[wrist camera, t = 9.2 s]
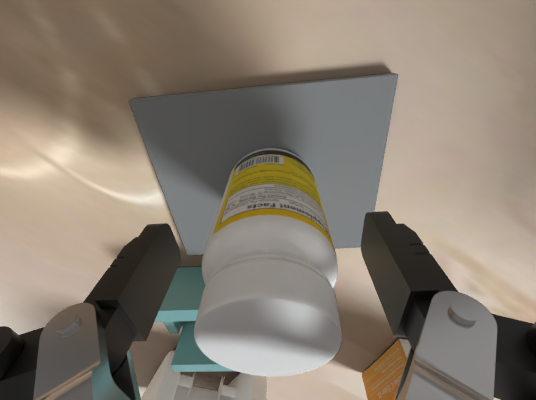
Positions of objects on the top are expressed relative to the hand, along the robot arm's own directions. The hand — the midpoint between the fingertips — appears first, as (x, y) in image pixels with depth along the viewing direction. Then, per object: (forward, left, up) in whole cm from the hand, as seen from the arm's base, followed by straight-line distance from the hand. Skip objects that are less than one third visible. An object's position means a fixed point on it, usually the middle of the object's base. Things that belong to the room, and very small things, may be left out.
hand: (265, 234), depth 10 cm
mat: (0, 0, -5) cm, 5 cm away
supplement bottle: (0, 0, -4) cm, 4 cm away
